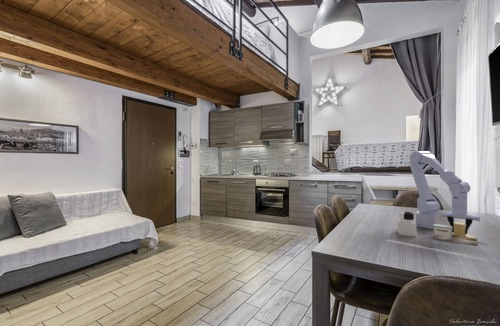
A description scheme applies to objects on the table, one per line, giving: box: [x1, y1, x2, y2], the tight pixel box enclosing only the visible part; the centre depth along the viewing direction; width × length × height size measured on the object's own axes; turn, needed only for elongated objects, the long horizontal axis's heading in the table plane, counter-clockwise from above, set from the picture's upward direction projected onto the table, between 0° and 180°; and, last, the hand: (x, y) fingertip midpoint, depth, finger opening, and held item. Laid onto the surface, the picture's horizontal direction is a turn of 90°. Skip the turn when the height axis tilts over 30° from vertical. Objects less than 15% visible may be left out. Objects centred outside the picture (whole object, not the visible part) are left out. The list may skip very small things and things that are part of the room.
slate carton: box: [432, 224, 452, 238], centre depth 113 cm, size 7×4×6 cm, turn 48°
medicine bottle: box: [396, 211, 417, 237], centre depth 118 cm, size 7×7×12 cm
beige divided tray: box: [431, 232, 479, 246], centre depth 114 cm, size 16×18×2 cm
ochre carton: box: [454, 221, 465, 237], centre depth 116 cm, size 7×4×6 cm, turn 138°
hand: (459, 233), depth 116 cm, fingers closed on ochre carton, 4 cm apart
